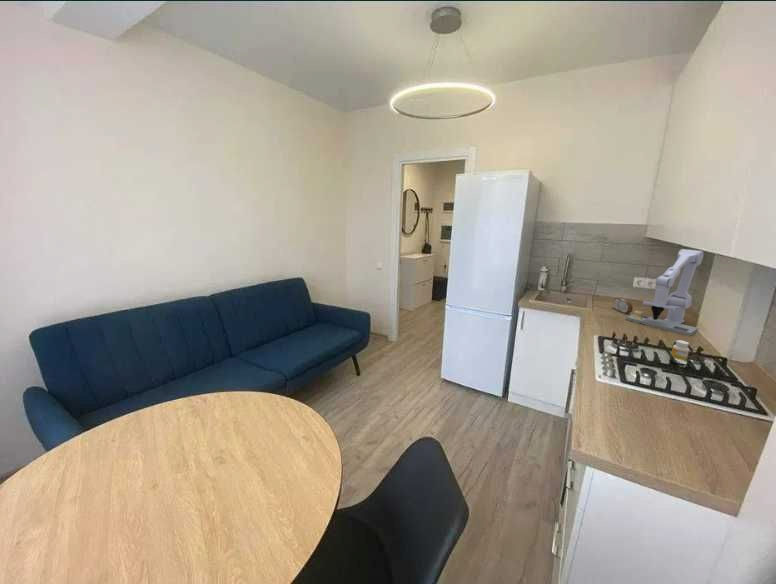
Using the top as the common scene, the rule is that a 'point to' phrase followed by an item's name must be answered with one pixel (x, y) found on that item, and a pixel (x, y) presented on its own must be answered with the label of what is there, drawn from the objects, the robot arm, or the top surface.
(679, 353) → the supplement bottle
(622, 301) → the tin
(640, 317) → the block
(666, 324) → the board
